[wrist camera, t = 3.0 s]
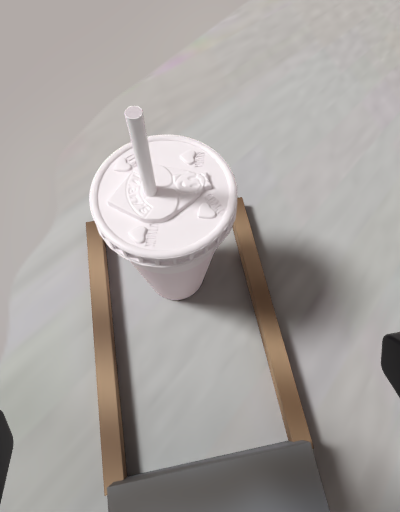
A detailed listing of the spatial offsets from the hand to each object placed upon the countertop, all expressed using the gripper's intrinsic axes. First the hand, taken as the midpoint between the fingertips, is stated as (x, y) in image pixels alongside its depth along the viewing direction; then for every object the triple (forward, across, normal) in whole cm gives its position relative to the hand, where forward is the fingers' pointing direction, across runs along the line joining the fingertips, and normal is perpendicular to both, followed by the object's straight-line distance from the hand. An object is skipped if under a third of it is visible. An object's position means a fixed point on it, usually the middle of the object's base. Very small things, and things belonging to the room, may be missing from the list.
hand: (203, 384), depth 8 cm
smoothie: (+15, 0, +4) cm, 16 cm away
